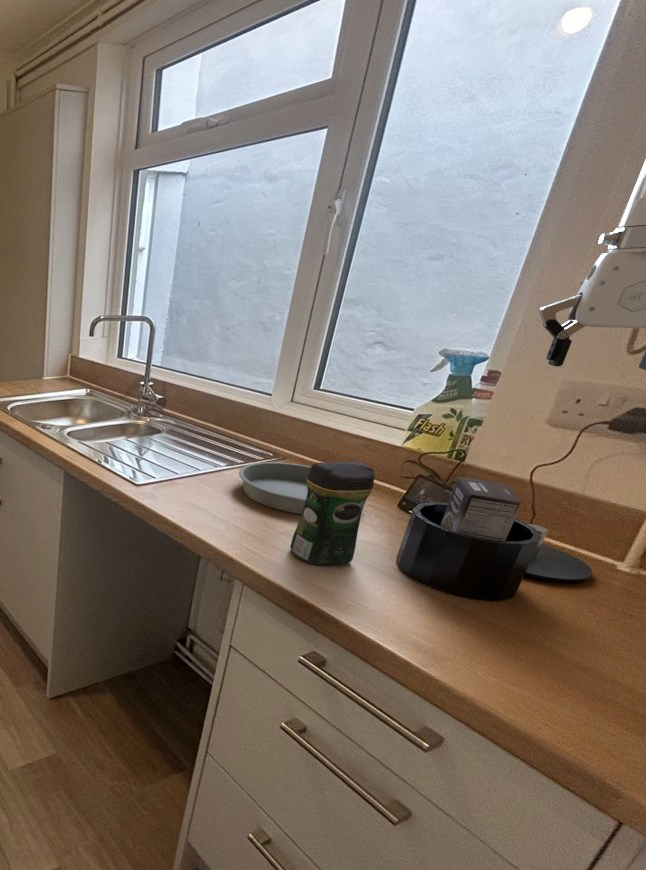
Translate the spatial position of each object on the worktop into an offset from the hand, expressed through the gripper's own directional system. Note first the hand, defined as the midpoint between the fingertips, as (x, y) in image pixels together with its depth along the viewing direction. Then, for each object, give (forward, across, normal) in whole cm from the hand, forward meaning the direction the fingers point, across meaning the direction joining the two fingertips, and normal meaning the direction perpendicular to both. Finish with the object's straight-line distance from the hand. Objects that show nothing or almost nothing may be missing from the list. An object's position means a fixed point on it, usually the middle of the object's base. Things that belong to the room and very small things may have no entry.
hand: (599, 367), depth 78 cm
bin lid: (+35, +3, +8) cm, 36 cm away
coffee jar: (+36, -29, -9) cm, 47 cm away
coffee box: (+36, -9, -5) cm, 37 cm away
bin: (+36, -9, -5) cm, 37 cm away
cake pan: (+36, -33, +21) cm, 53 cm away
